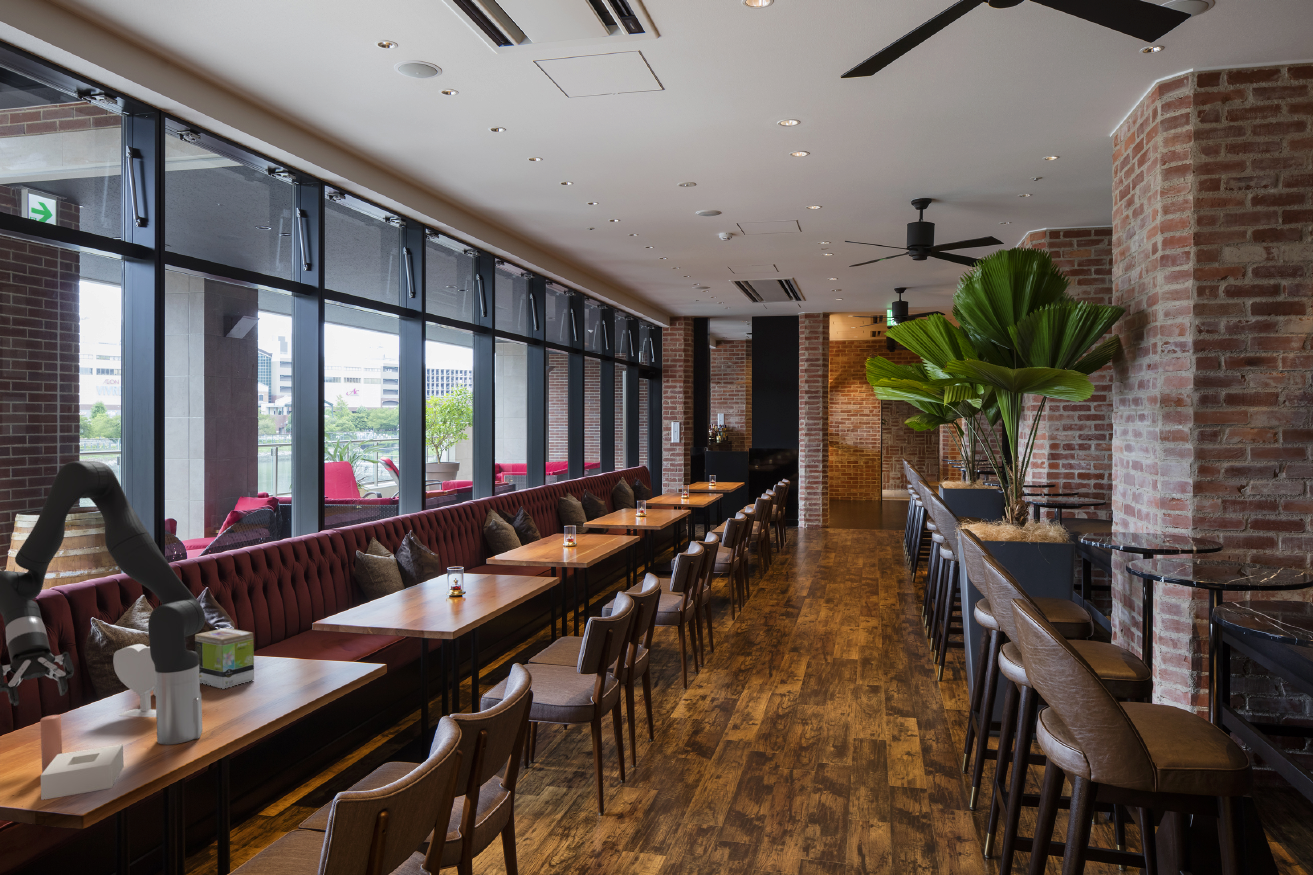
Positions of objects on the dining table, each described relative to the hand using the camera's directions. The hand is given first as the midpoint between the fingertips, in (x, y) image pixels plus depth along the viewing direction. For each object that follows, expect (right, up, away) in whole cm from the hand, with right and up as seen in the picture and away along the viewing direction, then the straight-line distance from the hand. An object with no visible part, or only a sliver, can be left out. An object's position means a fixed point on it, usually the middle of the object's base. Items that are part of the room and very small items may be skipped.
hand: (40, 698), depth 182 cm
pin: (+7, -14, -6) cm, 17 cm away
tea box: (+12, -14, +57) cm, 60 cm away
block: (+19, -14, -12) cm, 26 cm away
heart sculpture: (+4, -14, +31) cm, 34 cm away
